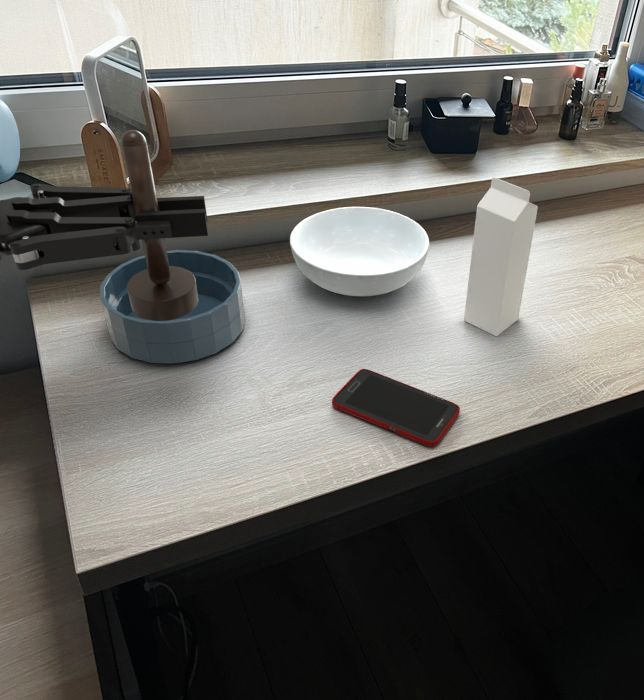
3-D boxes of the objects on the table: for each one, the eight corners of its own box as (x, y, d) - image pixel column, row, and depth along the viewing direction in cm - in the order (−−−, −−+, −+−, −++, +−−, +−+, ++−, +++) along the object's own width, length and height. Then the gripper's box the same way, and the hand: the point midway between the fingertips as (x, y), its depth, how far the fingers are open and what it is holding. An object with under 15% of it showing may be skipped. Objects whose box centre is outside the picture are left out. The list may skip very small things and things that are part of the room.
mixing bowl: (140, 384, 90) (129, 339, 85) (92, 314, 99) (80, 271, 95) (267, 338, 99) (263, 296, 95) (212, 279, 109) (206, 238, 104)
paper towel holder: (145, 328, 76) (106, 151, 64) (121, 296, 80) (80, 123, 68) (209, 308, 80) (183, 137, 68) (183, 278, 84) (154, 112, 72)
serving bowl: (401, 235, 124) (402, 199, 120) (446, 303, 110) (450, 264, 106) (279, 250, 117) (276, 212, 113) (310, 325, 102) (308, 284, 98)
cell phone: (361, 372, 95) (361, 366, 95) (462, 411, 91) (462, 405, 91) (328, 406, 90) (328, 400, 89) (434, 450, 85) (434, 444, 85)
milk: (485, 304, 111) (504, 169, 97) (519, 319, 108) (542, 184, 95) (462, 321, 107) (478, 182, 93) (496, 338, 104) (518, 198, 91)
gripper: (-25, 224, 77) (208, 212, 83) (-61, 306, 66) (212, 286, 72) (-49, 157, 72) (200, 151, 79) (-93, 234, 61) (202, 219, 68)
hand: (205, 215), depth 75 cm, fingers closed on paper towel holder, 2 cm apart
